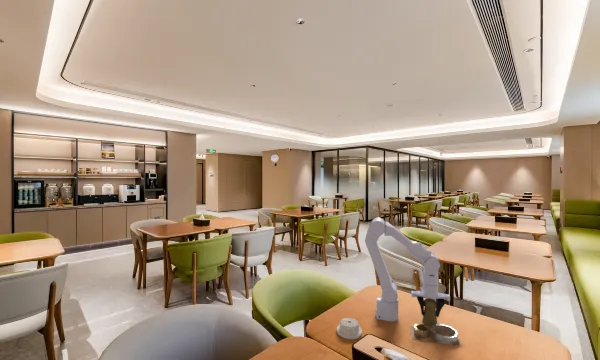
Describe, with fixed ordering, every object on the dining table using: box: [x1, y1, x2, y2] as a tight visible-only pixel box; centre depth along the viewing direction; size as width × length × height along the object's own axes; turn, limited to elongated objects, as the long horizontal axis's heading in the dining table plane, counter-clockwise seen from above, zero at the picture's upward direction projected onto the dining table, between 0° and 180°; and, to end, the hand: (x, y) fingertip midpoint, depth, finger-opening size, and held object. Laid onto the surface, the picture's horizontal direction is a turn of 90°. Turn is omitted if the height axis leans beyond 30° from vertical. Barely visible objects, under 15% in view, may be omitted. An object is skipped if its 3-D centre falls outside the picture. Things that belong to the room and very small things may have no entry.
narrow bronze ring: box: [413, 323, 431, 338], centre depth 112 cm, size 6×6×2 cm
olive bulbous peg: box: [421, 298, 438, 328], centre depth 119 cm, size 6×6×11 cm
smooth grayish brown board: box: [408, 325, 462, 347], centre depth 111 cm, size 17×9×1 cm, turn 76°
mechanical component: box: [336, 317, 363, 340], centre depth 115 cm, size 10×4×10 cm
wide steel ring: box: [430, 323, 459, 346], centre depth 110 cm, size 9×9×2 cm
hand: (429, 315), depth 119 cm, fingers closed on olive bulbous peg, 5 cm apart
